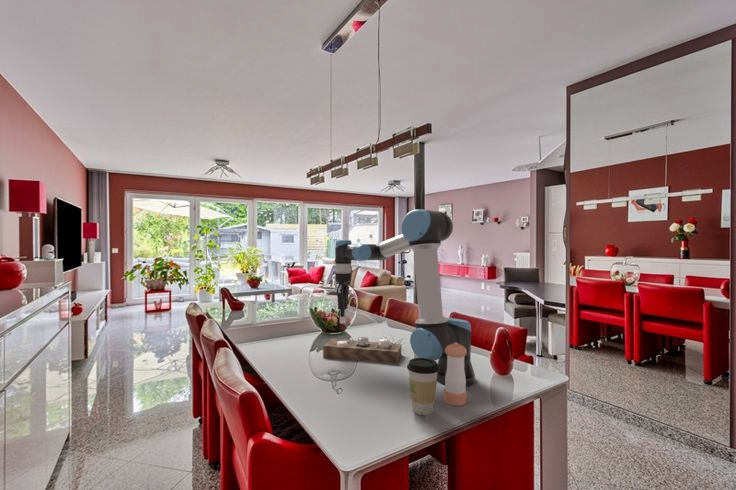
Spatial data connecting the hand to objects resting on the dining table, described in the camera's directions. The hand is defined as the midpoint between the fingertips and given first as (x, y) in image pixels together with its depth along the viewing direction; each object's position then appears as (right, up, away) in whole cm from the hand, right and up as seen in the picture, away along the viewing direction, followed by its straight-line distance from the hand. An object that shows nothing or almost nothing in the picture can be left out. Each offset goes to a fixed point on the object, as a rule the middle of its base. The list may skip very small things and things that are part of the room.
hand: (342, 323), depth 168 cm
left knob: (0, -14, 0) cm, 14 cm away
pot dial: (+9, -12, -2) cm, 15 cm away
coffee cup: (+29, -15, -57) cm, 65 cm away
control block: (+9, -15, -2) cm, 17 cm away
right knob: (+19, -12, -4) cm, 23 cm away
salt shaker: (+41, -15, -49) cm, 66 cm away
